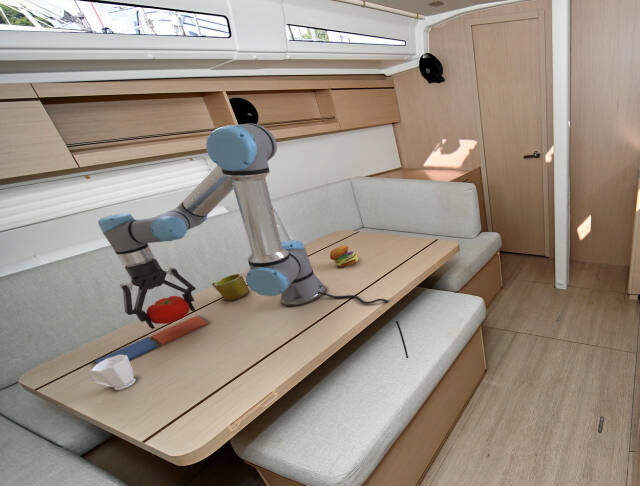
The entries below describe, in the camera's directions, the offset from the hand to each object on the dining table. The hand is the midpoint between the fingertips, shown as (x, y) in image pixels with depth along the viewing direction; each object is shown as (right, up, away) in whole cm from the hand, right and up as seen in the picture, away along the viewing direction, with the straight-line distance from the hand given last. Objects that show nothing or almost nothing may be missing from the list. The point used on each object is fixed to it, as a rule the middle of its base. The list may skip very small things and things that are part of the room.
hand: (173, 318), depth 122 cm
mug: (+3, +5, +23) cm, 24 cm away
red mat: (+1, -5, +2) cm, 5 cm away
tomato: (0, 0, 0) cm, 0 cm away
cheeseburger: (+39, +19, +44) cm, 62 cm away
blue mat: (-7, -10, -8) cm, 15 cm away
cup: (+6, -16, -22) cm, 27 cm away
